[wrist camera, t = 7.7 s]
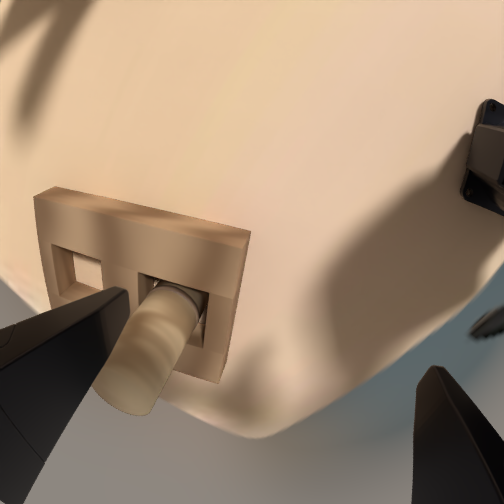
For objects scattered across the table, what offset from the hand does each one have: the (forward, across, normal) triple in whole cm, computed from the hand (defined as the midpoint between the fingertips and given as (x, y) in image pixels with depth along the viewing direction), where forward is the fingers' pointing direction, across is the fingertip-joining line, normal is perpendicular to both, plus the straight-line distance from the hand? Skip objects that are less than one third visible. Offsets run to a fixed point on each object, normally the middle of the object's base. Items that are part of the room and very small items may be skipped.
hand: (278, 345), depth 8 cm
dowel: (+12, +7, +8) cm, 16 cm away
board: (+11, +11, +8) cm, 18 cm away
